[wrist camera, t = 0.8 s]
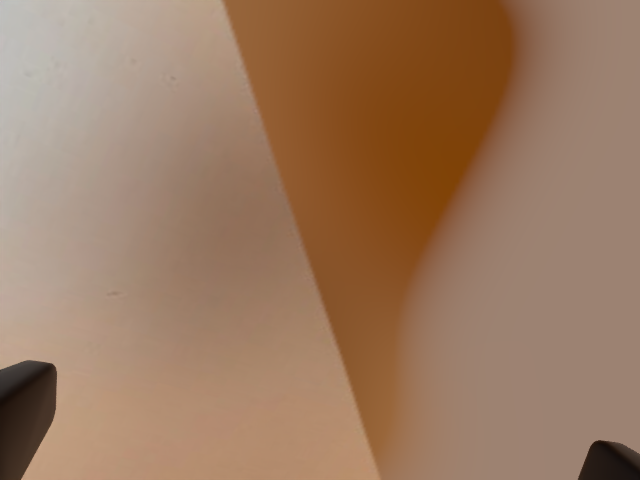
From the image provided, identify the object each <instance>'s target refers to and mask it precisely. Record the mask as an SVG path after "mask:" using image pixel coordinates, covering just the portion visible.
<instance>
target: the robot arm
mask: <svg viewBox="0 0 640 480" xmlns="http://www.w3.org/2000/svg"><path fill="white" fill-rule="evenodd" d="M56 386H57V371H56V367H55V366H54V365H53V364H52V363H46V362H39V361H32V360H27V361H24V362H21V363H18V364H15V365H12V366H10V367H7V368H4V369H1V370H0V480H21V478H22V477H23V475H24V473H25V471H26V469H27V468H28V466H29V464H30V462H31V460H32V458H33V457H34V455H35V453H36V451H37V449H38V447H39V446H40V444H41V442H42V440H43V438H44V437H45V435H46V433H47V431H48V429H49V427H50V426H51V423H52V421H53V418H54V415H55V410H56ZM578 480H640V454H639V453H637V452H635V451H634V450H631V449H630V448H628V447H627V446H625V445H623V444H620V443H616V442H609V441H601V440H598V441H595V442H594V443H593V444H592V445H591V447H590V449H589V451H588V454H587V457H586V459H585V462H584V465H583V467H582V470H581V472H580V475H579V478H578Z"/></svg>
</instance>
